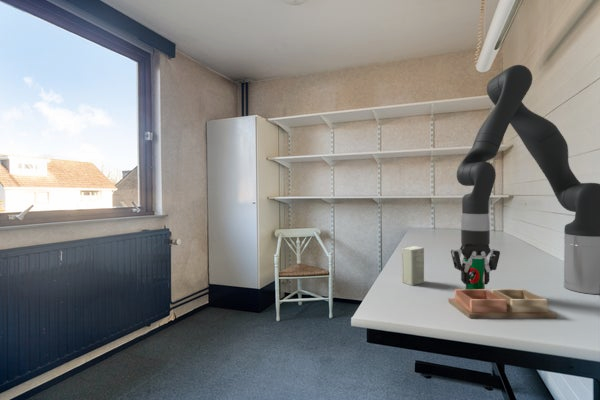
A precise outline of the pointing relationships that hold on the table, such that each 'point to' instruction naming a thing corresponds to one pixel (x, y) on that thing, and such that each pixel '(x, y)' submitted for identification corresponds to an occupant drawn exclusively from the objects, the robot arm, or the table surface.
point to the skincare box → (413, 265)
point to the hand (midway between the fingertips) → (475, 283)
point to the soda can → (476, 273)
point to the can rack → (500, 304)
